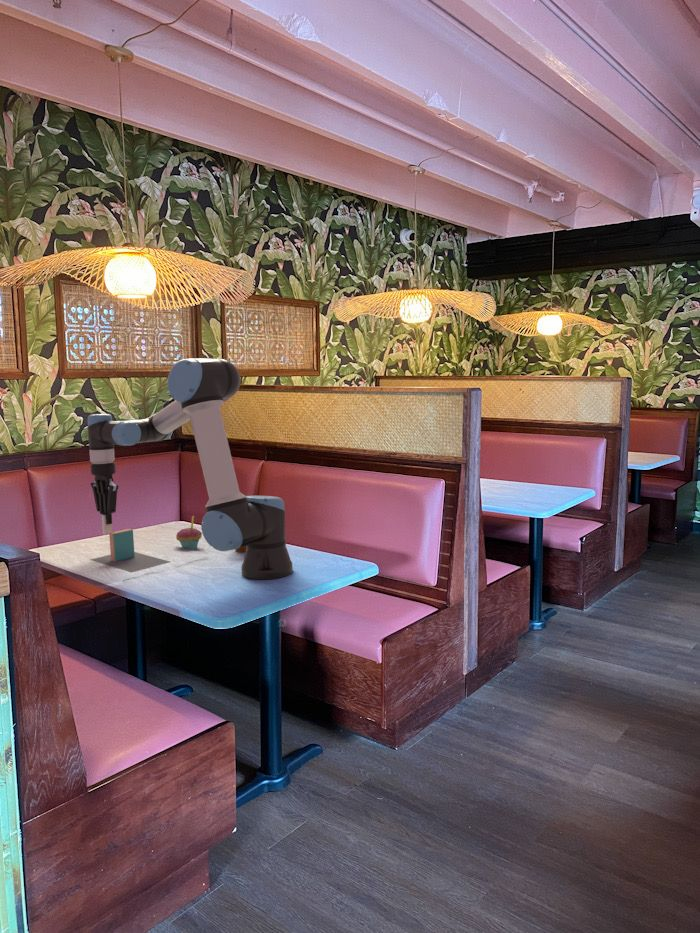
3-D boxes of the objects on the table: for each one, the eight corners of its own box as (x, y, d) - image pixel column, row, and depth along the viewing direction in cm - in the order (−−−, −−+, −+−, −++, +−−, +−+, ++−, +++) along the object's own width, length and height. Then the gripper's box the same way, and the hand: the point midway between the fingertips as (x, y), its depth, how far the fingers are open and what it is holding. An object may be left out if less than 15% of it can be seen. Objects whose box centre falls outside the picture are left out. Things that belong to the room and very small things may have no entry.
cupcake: (204, 545, 240) (203, 511, 238) (199, 551, 231) (197, 516, 230) (180, 545, 240) (178, 512, 238) (173, 552, 231) (171, 517, 230)
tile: (135, 556, 222) (133, 529, 221) (115, 561, 217) (113, 533, 216) (130, 555, 224) (128, 528, 223) (111, 560, 219) (109, 532, 217)
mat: (171, 564, 216) (171, 561, 216) (131, 575, 205) (131, 572, 205) (128, 553, 231) (128, 550, 231) (89, 562, 220) (89, 559, 220)
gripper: (124, 462, 220) (129, 534, 223) (102, 459, 228) (107, 528, 232) (102, 464, 214) (108, 538, 218) (81, 462, 223) (86, 533, 226)
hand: (107, 533), depth 225 cm, fingers closed
